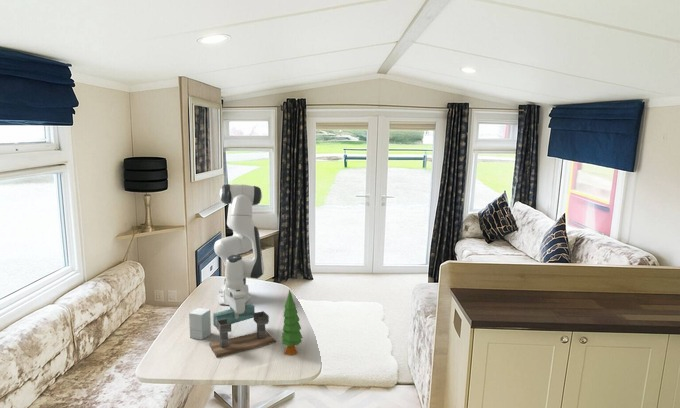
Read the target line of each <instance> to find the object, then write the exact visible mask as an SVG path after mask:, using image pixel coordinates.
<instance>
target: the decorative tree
mask: <svg viewBox="0 0 680 408" xmlns="http://www.w3.org/2000/svg"><path fill="white" fill-rule="evenodd" d="M283 308H284V311H283V327H282V333H281V338H282V339H281V340H282V341H281V344H282V345H284V346H286V348H285V351H284V353H283V355H286V356H287V355H288V356H295V355H297V354H298V353H299V352H298V350H297V349H296V346H299V345H300V344H301V343H302V339H303V335H302V333H301V330H302V326H301V324H300V320H301V319H300V317H299V316H298V312H299V311H298V310H297V306H296V304H295V301H294V297H293V294H292V291H291V289H288V294H287V298H286V301H285V303H284V307H283Z"/></svg>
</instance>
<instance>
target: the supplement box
mask: <svg viewBox="0 0 680 408" xmlns="http://www.w3.org/2000/svg"><path fill="white" fill-rule="evenodd" d="M188 318H189V320H188V321H189V338H190V339H196V340H200V341H201V340H204V339H206V338H208V336H210V335H211V334H212V323H211V321H212V320H211V309H208V308H201V307H197V308H196V309H193V310H191V312H189V313H188Z"/></svg>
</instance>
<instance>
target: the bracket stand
mask: <svg viewBox="0 0 680 408" xmlns="http://www.w3.org/2000/svg"><path fill="white" fill-rule="evenodd" d="M269 319H270V316H269V314H268V313H266V312H265V311H264V310H263V311H258V312H255V313H254V318H253V321H254V322H255V324H256V332H254V333H253V332H252V333H248V334H244V335H239V336H235V337H231V338H230V337H229V332H232V324H231V323H230V324H227V319H222V320H217V321H216V327H215V328H216V330H218V332H219V340H217V341H212V342H209V343H208V344H209V345H208V346H209V348H210V350H211V351H212V352H213V354H214V356H215V357H216V358H220V357H225V356H228V355H232V354H237V353H240V352H244V351H250V350H252V349H257V348H261V347H264V346H268V345H271V344H274V343H276V338H274V337H273V335H272V334H271V333H269V332H268V331H267V330H266V325H267V324H269V322H270V320H269Z"/></svg>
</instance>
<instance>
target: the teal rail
mask: <svg viewBox="0 0 680 408" xmlns="http://www.w3.org/2000/svg"><path fill="white" fill-rule="evenodd" d="M255 307H256V306H255V305H254V304H252V303H247V304H245V311H244V313H242V314H239V318H238V319H235V318H234V314H235V311H234V310H233V309H230V308H229V309H225V310H222V311H218V312H213V313H212V314H213V317H212V318H213V323H212V324H213V326H214V328H216V321H217V320H222V319H227V324H230V323H231V325H233V324H236V323H239V322H244V321H247V320H250V319H254V313H256V311H255V310H256V309H255Z"/></svg>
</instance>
